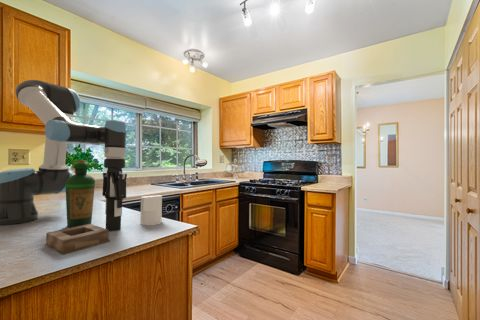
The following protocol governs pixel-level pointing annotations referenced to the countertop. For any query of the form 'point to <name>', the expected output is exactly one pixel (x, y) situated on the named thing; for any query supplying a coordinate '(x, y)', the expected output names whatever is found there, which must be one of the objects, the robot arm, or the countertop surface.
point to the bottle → (79, 196)
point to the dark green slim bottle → (112, 211)
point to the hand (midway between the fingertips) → (113, 214)
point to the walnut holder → (76, 238)
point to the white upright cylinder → (151, 210)
